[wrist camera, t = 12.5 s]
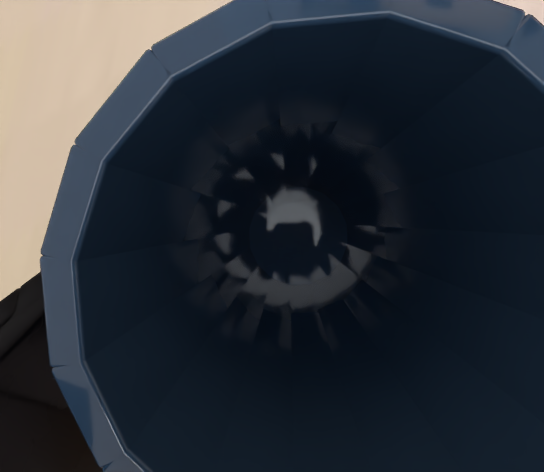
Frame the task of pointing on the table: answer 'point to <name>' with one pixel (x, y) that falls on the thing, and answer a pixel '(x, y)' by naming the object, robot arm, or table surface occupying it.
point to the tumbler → (310, 245)
